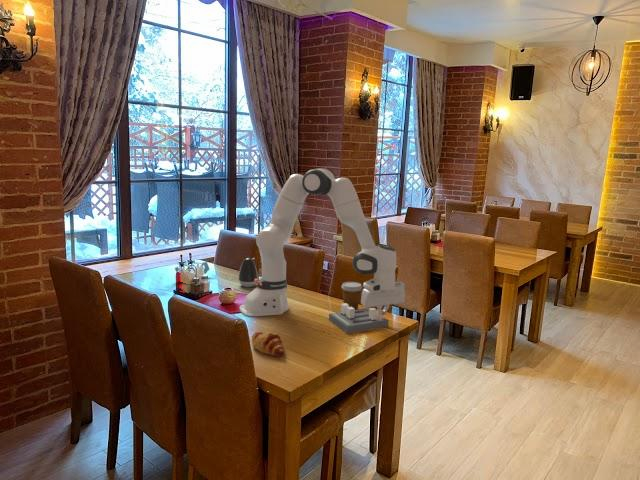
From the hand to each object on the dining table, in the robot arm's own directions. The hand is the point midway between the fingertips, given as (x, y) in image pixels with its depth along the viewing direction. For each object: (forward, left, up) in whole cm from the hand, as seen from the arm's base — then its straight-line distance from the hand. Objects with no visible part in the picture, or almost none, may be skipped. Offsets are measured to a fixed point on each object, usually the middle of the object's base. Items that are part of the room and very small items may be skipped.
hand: (382, 314), depth 203 cm
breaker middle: (-13, +5, -1) cm, 14 cm away
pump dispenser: (-36, +74, -5) cm, 82 cm away
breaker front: (-5, 0, -1) cm, 5 cm away
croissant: (-53, -5, -5) cm, 53 cm away
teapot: (-61, +96, -5) cm, 114 cm away
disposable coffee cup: (-3, +22, -5) cm, 23 cm away
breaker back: (-13, +10, -1) cm, 16 cm away
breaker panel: (-9, +5, -5) cm, 11 cm away
